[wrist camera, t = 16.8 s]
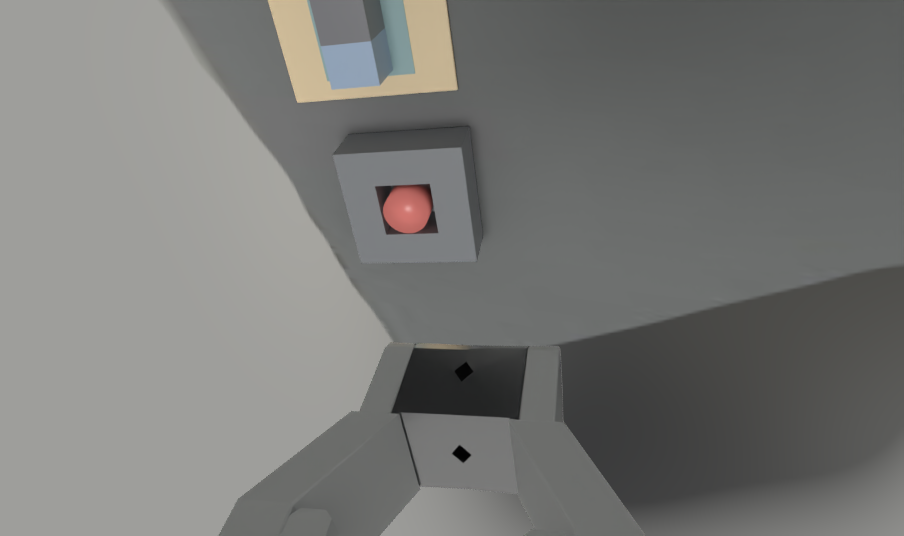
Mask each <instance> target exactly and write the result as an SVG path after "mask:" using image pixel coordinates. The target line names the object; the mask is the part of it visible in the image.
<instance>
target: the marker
mask: <svg viewBox="0 0 904 536" xmlns="http://www.w3.org/2000/svg"><path fill="white" fill-rule="evenodd" d="M309 1H310V5H311V9H312V13H313V17H314V21H315V25H316V29H317V33H318V37H319V41H320V45H321V49H322V53H323V57H324V61H325V65H326V69H327V73H328V77H329V81H330V85H331V89H332V90H335V89H347V88H359V87H370V86H380V85H381V84H382V83H383V81H384V80H385V79H386V78H387V76H388V75H389V74H390V73H391V72H392V70H393V68H392V63H391V57H390V52H389V47H388V41H387V36H386V31H385V26H384V20H383V15H382V10H381V4H380V0H309Z"/></svg>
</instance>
